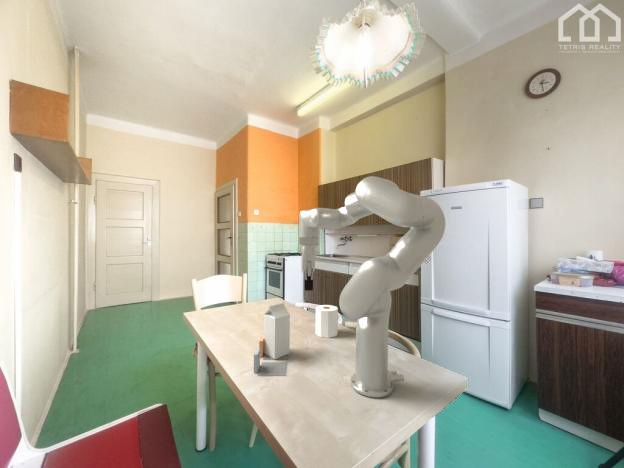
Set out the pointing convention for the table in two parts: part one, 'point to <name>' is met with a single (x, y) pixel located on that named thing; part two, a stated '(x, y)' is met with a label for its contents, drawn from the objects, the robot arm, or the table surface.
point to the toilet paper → (326, 321)
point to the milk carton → (277, 331)
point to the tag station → (268, 363)
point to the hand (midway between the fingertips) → (308, 289)
